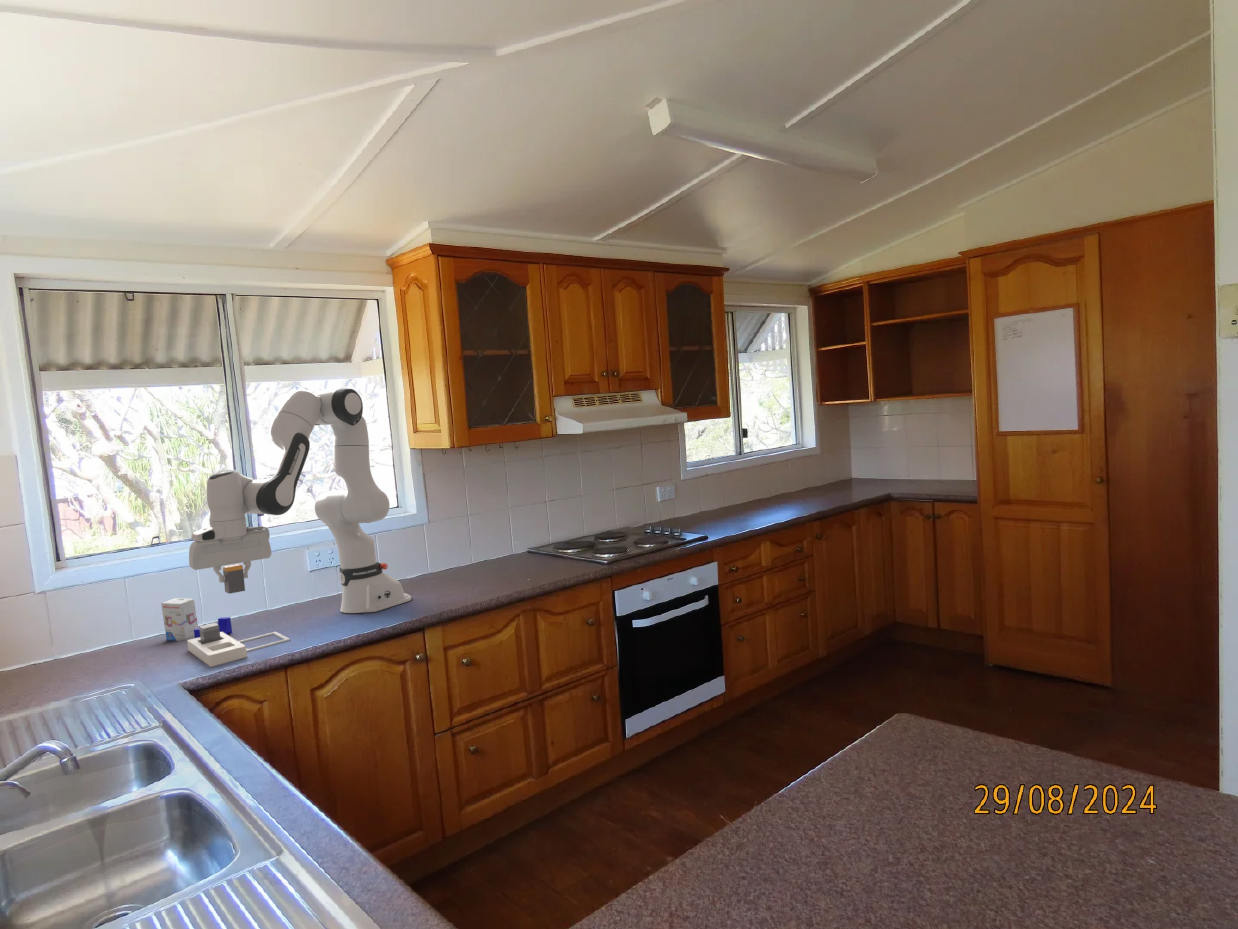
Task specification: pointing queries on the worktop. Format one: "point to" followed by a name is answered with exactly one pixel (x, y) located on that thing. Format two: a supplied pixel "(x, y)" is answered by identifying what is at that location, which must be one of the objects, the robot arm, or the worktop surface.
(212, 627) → the twin plug
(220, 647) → the white slotted block
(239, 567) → the plug
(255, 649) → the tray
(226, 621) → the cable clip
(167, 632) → the ink box
